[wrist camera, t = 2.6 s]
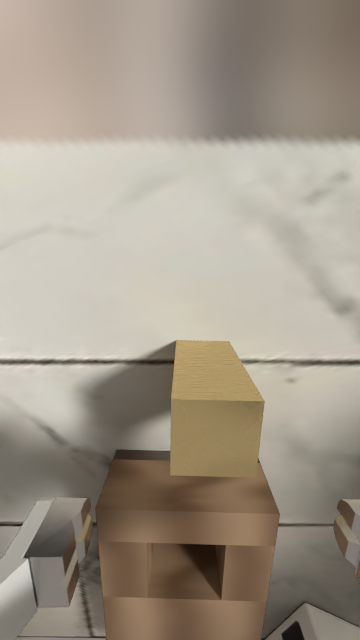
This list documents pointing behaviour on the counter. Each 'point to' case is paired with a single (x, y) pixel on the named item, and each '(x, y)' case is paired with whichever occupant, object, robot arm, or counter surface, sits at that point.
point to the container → (314, 626)
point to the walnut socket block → (183, 551)
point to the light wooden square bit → (213, 412)
